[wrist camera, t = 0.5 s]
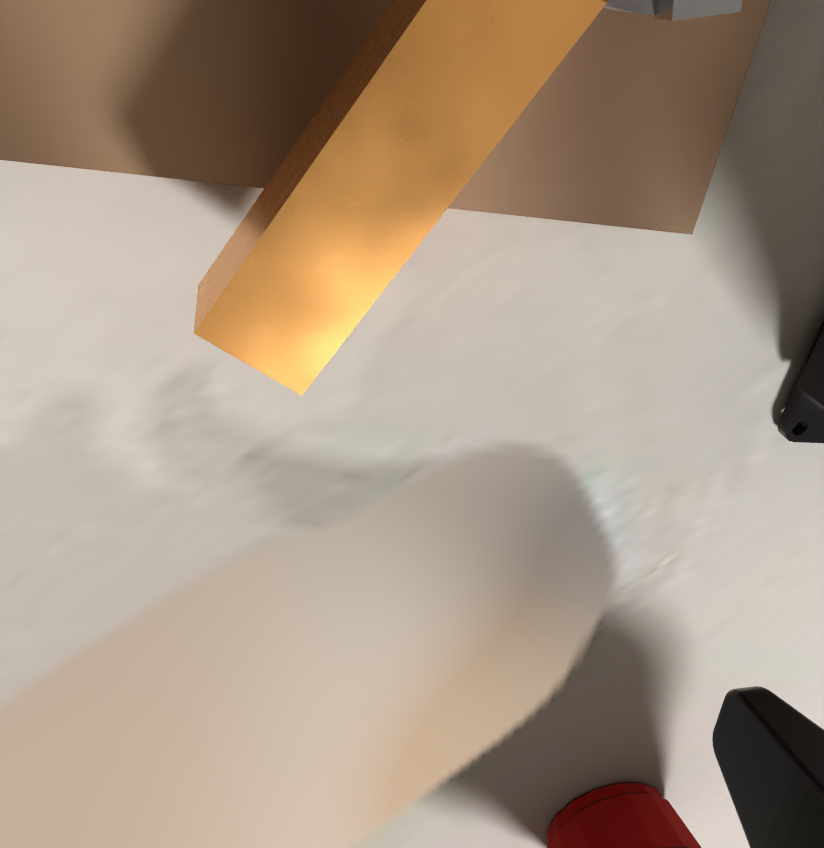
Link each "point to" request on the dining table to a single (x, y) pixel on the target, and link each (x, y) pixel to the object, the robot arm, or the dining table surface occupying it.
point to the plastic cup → (620, 821)
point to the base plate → (325, 64)
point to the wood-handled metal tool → (386, 169)
